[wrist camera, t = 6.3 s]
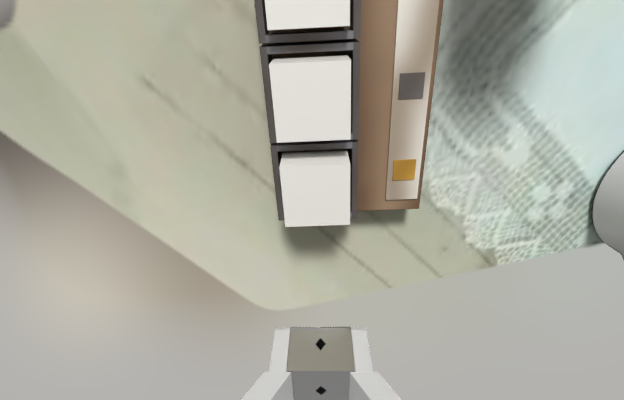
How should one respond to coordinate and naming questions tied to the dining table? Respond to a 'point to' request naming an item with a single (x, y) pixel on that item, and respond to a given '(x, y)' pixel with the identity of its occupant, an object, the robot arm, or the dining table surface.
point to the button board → (370, 95)
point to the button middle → (311, 98)
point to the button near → (306, 14)
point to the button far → (315, 188)
